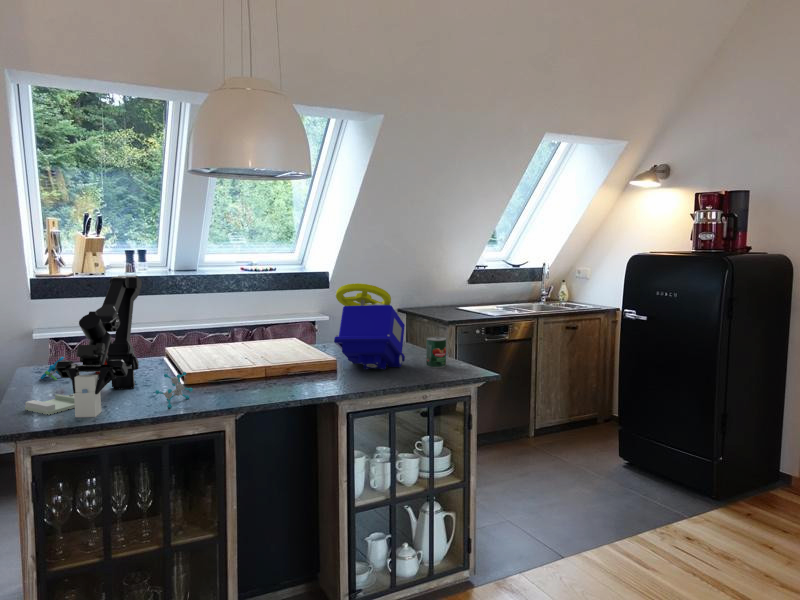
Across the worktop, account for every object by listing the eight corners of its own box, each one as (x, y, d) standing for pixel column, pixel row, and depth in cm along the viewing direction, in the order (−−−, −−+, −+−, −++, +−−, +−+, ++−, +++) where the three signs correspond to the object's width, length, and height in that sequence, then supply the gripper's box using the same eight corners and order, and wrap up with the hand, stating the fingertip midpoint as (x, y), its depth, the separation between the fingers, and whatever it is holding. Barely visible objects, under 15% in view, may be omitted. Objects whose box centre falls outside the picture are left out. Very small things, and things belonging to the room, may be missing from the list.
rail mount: (74, 396, 195) (73, 389, 195) (97, 401, 191) (97, 393, 190) (25, 410, 181) (24, 402, 181) (49, 415, 176) (48, 407, 176)
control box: (384, 355, 218) (393, 281, 231) (316, 355, 226) (328, 283, 238) (403, 378, 241) (410, 309, 253) (340, 377, 248) (350, 310, 261)
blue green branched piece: (46, 370, 224) (64, 351, 223) (60, 380, 226) (78, 362, 225) (33, 381, 214) (52, 362, 213) (47, 392, 215) (66, 373, 214)
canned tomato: (440, 368, 237) (440, 341, 236) (422, 366, 241) (422, 339, 240) (449, 364, 244) (449, 337, 242) (432, 362, 248) (432, 336, 246)
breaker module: (81, 412, 179) (79, 374, 177) (101, 412, 179) (99, 374, 178) (75, 417, 174) (73, 378, 173) (95, 416, 175) (93, 377, 174)
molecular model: (175, 425, 189) (203, 391, 200) (177, 400, 179) (207, 367, 190) (142, 407, 189) (171, 375, 200) (143, 382, 180) (174, 349, 191)
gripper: (55, 333, 177) (40, 380, 167) (122, 332, 179) (111, 378, 169) (68, 354, 186) (54, 400, 176) (132, 353, 188) (122, 398, 178)
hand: (85, 393), depth 175 cm, fingers closed on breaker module, 5 cm apart
